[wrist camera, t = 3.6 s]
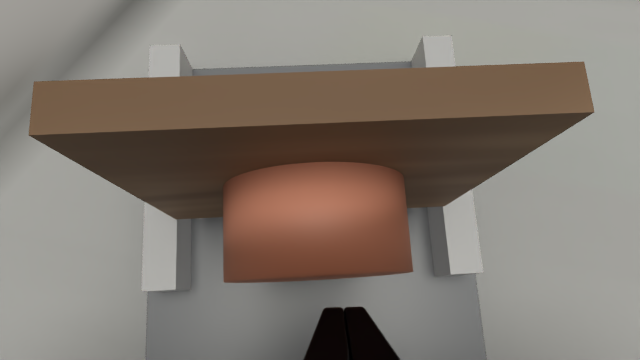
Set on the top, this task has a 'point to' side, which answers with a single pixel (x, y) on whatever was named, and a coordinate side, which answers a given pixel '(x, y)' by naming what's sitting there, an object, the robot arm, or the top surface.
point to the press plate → (310, 152)
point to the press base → (313, 295)
